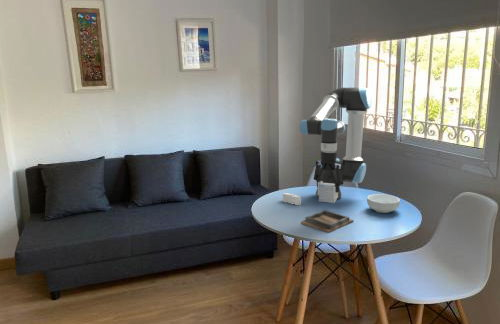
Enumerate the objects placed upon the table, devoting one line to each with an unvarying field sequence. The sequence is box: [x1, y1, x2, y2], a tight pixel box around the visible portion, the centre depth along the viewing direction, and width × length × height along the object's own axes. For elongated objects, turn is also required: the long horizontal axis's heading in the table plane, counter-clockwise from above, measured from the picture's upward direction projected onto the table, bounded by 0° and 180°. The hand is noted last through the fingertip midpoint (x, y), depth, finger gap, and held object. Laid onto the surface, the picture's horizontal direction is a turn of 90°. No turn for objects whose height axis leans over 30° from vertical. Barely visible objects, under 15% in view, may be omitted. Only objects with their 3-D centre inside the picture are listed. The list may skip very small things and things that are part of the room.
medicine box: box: [318, 183, 337, 204], centre depth 198 cm, size 8×4×9 cm, turn 65°
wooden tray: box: [300, 209, 354, 234], centre depth 202 cm, size 20×17×3 cm
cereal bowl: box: [366, 193, 401, 214], centre depth 217 cm, size 17×17×7 cm
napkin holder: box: [282, 192, 302, 206], centre depth 232 cm, size 15×11×6 cm
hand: (327, 196), depth 199 cm, fingers closed on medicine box, 9 cm apart
